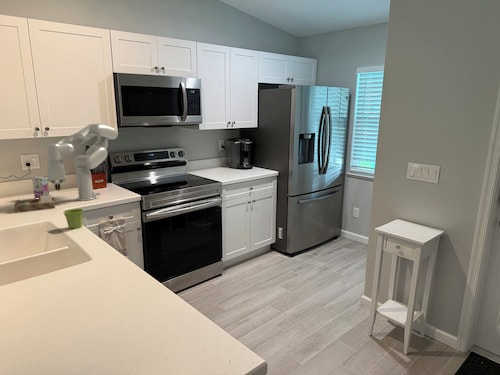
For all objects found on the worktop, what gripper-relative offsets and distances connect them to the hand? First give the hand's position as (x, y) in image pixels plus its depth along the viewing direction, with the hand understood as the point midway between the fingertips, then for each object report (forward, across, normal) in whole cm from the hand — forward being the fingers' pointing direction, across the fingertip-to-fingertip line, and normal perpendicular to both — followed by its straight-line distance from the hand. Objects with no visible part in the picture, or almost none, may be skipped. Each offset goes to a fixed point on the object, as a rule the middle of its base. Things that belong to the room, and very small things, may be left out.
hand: (57, 190), depth 228 cm
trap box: (+10, +13, -1) cm, 16 cm away
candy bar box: (+10, +11, -32) cm, 35 cm away
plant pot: (+11, -7, +66) cm, 67 cm away
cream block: (+7, +7, 0) cm, 10 cm away
